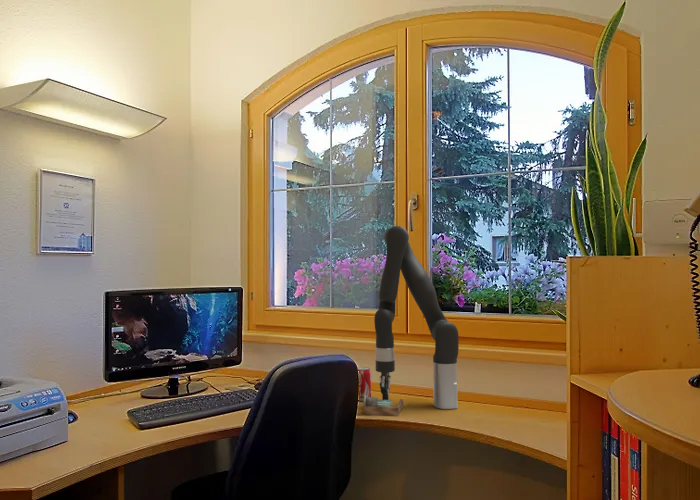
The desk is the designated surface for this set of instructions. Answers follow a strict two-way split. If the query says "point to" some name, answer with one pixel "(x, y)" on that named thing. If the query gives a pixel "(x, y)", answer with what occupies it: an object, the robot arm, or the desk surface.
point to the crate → (384, 403)
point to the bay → (380, 407)
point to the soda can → (364, 382)
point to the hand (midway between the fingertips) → (385, 403)
